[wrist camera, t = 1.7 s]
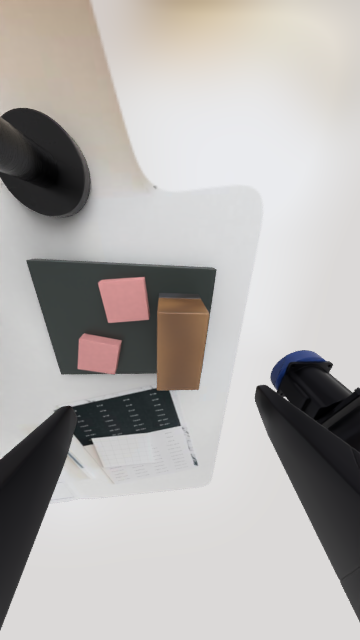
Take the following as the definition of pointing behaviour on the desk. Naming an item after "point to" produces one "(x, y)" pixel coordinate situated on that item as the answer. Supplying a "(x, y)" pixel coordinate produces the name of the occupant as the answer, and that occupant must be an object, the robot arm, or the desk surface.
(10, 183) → the desk lamp
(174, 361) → the brown block
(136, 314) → the crumb
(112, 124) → the desk surface
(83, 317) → the slate
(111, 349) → the crumb
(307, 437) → the robot arm
